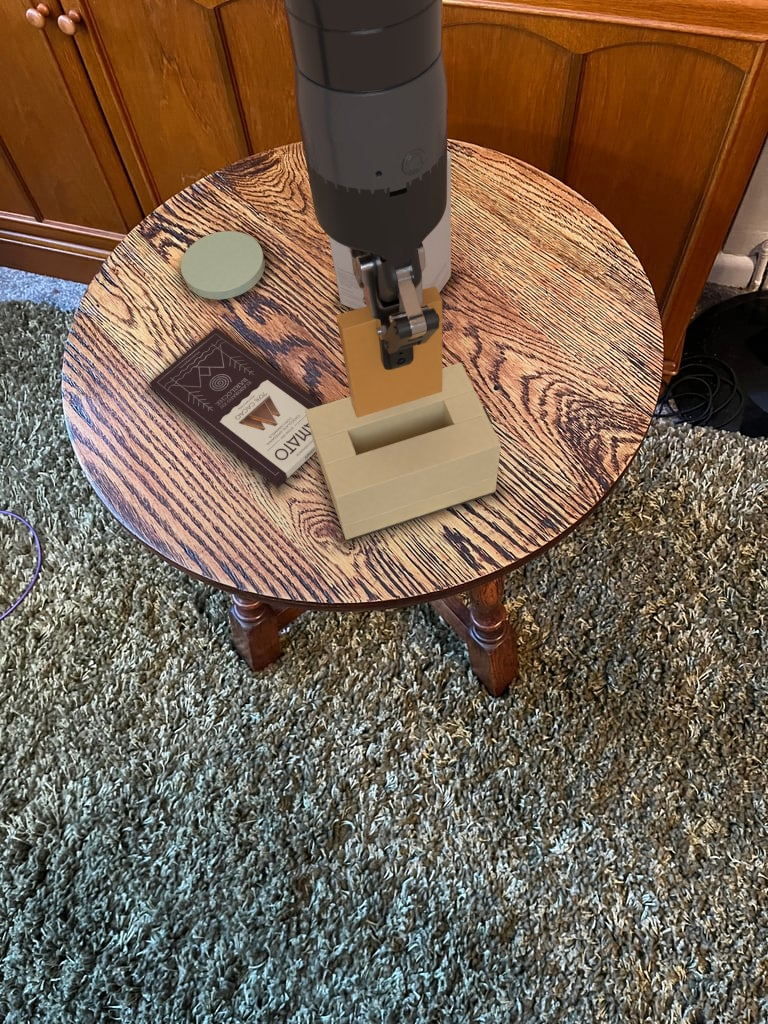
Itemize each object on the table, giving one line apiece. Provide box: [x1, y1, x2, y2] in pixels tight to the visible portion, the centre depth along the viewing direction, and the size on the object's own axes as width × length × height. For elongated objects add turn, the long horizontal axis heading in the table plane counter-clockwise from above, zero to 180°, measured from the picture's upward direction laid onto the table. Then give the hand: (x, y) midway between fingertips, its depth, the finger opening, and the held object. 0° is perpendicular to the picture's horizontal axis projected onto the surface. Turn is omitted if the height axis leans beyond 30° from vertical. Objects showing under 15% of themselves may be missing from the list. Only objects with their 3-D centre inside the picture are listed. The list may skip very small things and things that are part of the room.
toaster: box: [305, 362, 502, 543], centre depth 67 cm, size 15×9×8 cm, turn 108°
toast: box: [335, 286, 443, 418], centre depth 55 cm, size 7×1×10 cm, turn 108°
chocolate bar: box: [149, 327, 324, 489], centre depth 75 cm, size 9×1×18 cm
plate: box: [180, 230, 266, 300], centre depth 84 cm, size 9×9×1 cm
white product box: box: [328, 151, 452, 310], centre depth 74 cm, size 9×9×15 cm
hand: (393, 353), depth 55 cm, fingers closed on toast, 1 cm apart
